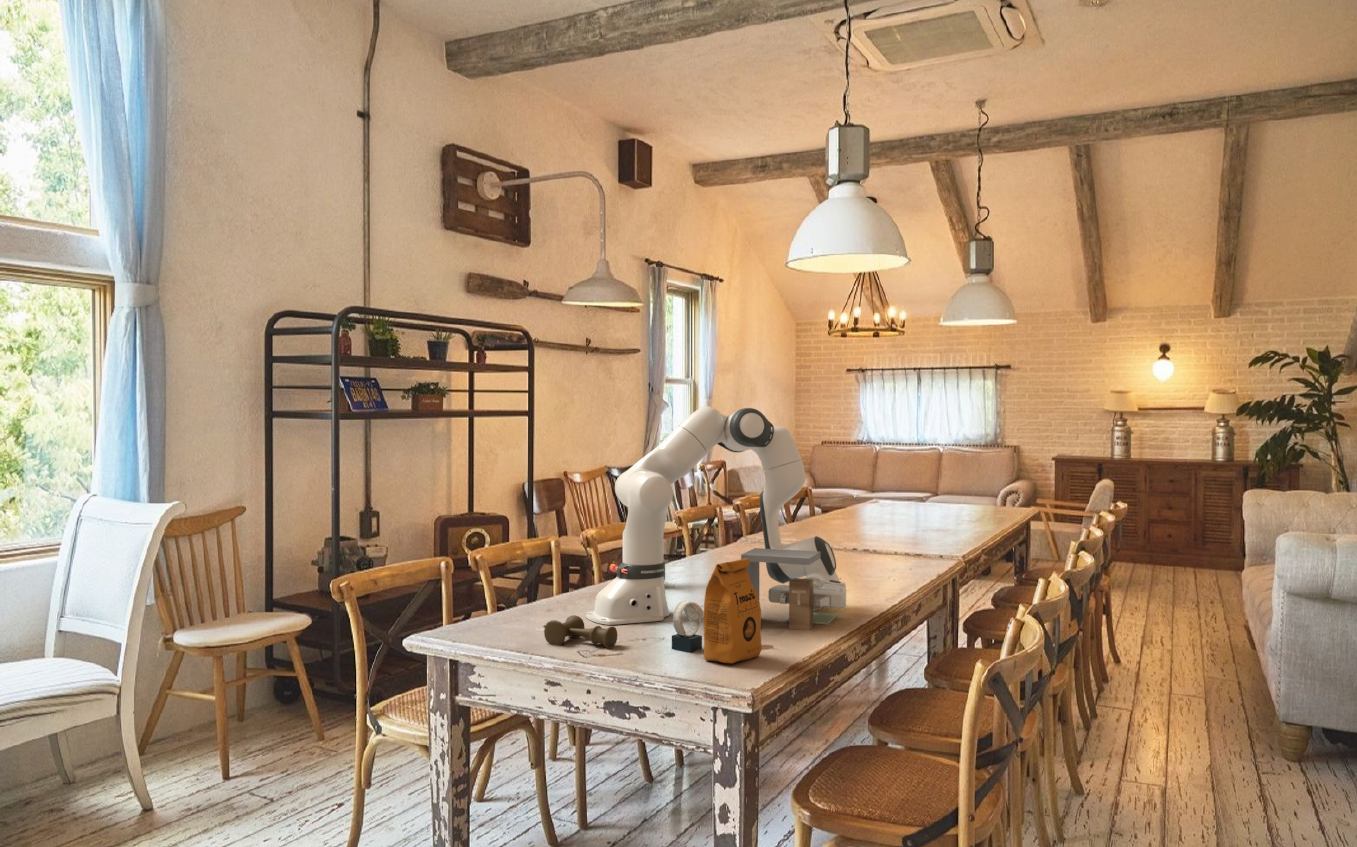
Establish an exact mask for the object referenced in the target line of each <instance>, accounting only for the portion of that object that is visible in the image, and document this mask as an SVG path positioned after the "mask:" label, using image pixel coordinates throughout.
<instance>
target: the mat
mask: <svg viewBox="0 0 1357 847" xmlns="http://www.w3.org/2000/svg"><path fill="white" fill-rule="evenodd" d="M837 616H838V614H837V613H825V612H814V611H813V624H817V625H829V624H830V623H831V622H833V620H834V619H835V618H836V617H837ZM785 621H786V622H789V617H787V618H786V620H785Z"/></svg>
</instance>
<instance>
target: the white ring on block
mask: <svg viewBox="0 0 1357 847" xmlns="http://www.w3.org/2000/svg"><path fill="white" fill-rule="evenodd" d="M683 612H684V614H685V615H686V616H687V618H688V619H689V621H690V622H691V623H690V626H689V628H688V630H687V631H686V630H685V627H684V624H683V621H682V613H683ZM672 615H673V616H672V624H673V628H674V630H675V632H676V634H673V635H671V650H674V651H675V650H676V651H680V652H684V653H690V654H691V653H695V652H697V651H700V650H703V635H699V634H697V632H698V631H699V629H700V625H701V623H702V621H703V617H704V609H702V607H701V605H699V604H698V603H697V602H695V601H691V600H688V601H687V600H682V601H679V602H678V604H676V607H675V608H674V610H673V614H672Z"/></svg>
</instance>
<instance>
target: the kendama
mask: <svg viewBox="0 0 1357 847" xmlns="http://www.w3.org/2000/svg"><path fill="white" fill-rule="evenodd" d="M542 627H543V628H544V630H543V633H544V638H545V640H546V643H548V644H549V645H551V646H562V644H563V643H564V642H565V640H566V637H567V638H568V637H569V638H572V639H578V638H584V639H587V640H589V641H590V642H591V644H592V645H598V644H601V645H604V647H605V648H607V649H611V648H613V647H615V645H616V643H617V640H618V631H617V628H616V627H615V626H610V627H608V628H603V627H602V626H601V625H596V626H594V627H592V628H586V627H585V623H584V619H582V618H581V617H580V616H578V615H570V616H567V618H566V620H565V622H561V621H559V620H555V619H554V620H549V621H548V622H547V623H545V625H543V626H542Z"/></svg>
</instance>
